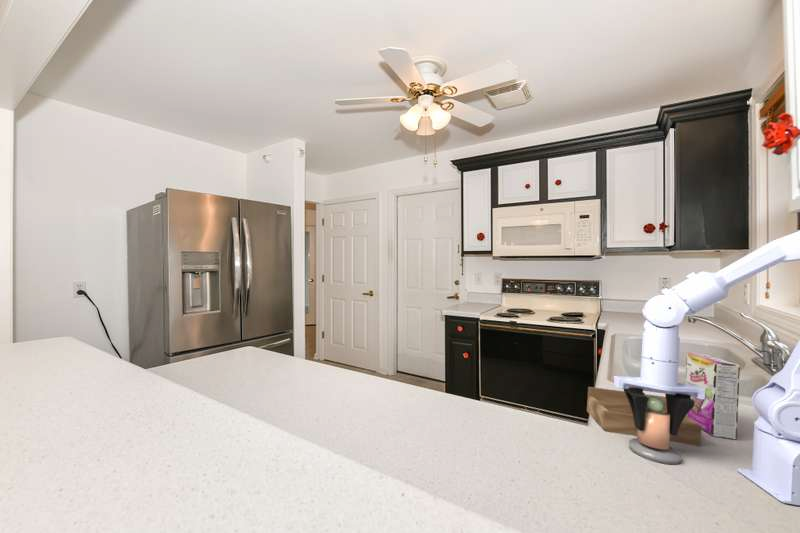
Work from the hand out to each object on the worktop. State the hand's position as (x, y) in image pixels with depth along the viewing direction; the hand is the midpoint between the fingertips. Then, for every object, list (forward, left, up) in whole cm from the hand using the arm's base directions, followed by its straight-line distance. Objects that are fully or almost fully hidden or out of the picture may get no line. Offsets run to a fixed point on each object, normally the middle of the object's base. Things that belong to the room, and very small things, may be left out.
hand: (655, 431), depth 67 cm
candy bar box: (+20, -20, -4) cm, 29 cm away
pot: (+1, 0, -3) cm, 3 cm away
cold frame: (+14, -3, -4) cm, 15 cm away
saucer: (0, 0, -4) cm, 4 cm away
